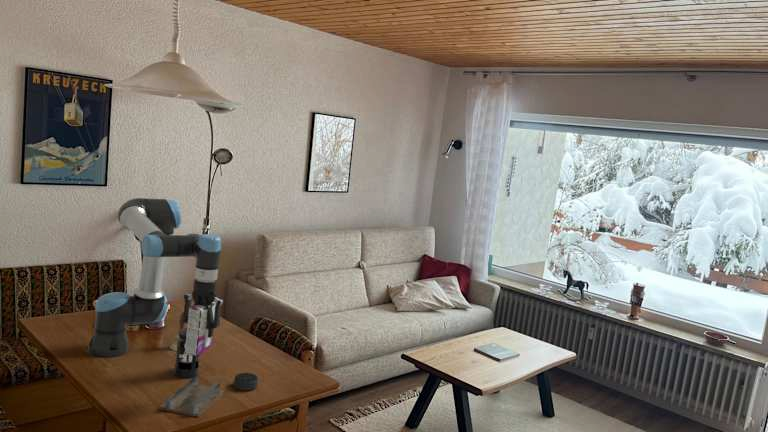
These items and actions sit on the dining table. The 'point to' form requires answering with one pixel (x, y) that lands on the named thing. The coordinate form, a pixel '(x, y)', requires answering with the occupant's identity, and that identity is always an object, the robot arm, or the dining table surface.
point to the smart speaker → (246, 381)
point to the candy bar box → (197, 329)
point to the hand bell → (174, 345)
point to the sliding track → (193, 398)
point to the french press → (185, 359)
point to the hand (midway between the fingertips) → (198, 344)
